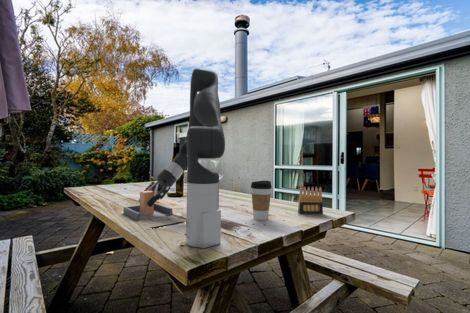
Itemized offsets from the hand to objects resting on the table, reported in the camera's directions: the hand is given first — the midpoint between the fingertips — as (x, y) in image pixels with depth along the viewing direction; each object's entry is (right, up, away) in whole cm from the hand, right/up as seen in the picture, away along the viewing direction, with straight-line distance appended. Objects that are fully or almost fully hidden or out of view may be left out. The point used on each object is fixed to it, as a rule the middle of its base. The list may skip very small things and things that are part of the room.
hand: (144, 203), depth 101 cm
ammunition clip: (+71, -6, +9) cm, 71 cm away
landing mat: (+10, -5, -10) cm, 15 cm away
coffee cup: (+47, -6, -1) cm, 48 cm away
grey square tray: (+1, -5, 0) cm, 5 cm away
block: (+1, -4, +1) cm, 4 cm away
